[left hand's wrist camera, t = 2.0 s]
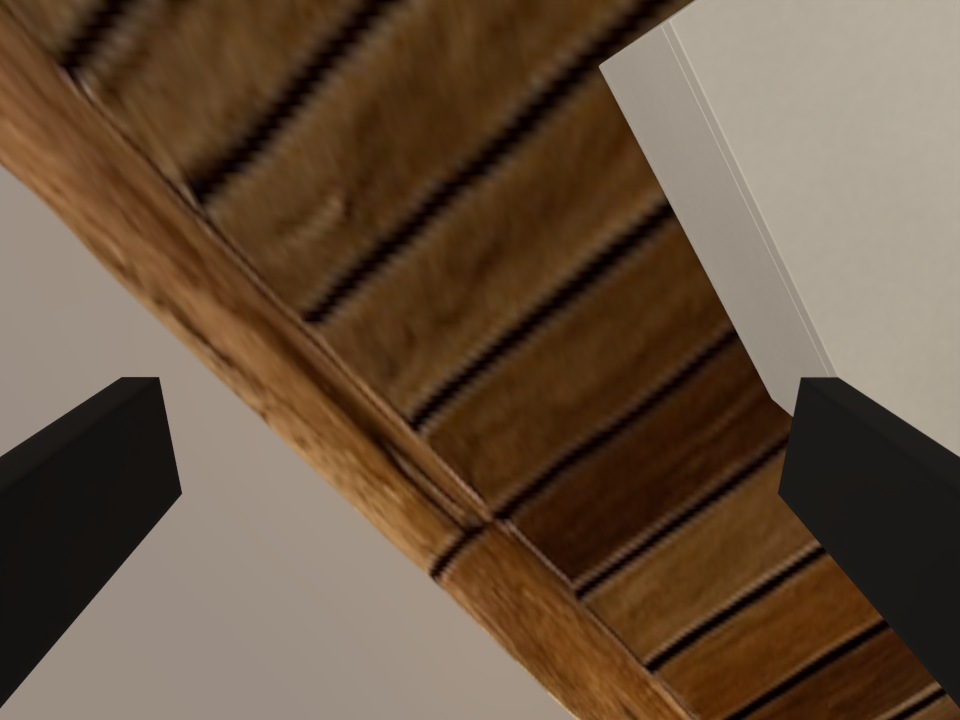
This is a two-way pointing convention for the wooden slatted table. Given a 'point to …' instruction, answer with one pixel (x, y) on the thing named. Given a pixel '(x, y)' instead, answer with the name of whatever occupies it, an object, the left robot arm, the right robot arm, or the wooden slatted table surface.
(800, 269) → the cabinet
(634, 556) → the wooden slatted table surface
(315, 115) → the wooden slatted table surface
